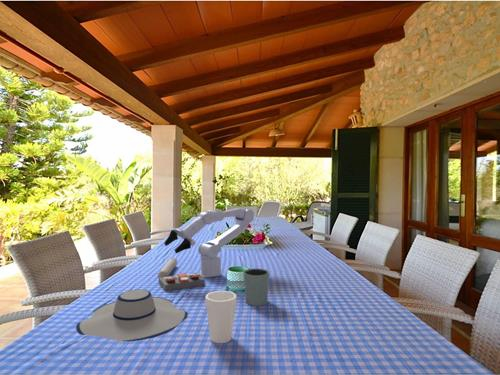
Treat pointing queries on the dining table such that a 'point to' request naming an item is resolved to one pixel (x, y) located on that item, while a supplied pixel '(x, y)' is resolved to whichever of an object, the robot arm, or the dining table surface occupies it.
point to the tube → (167, 268)
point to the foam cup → (220, 315)
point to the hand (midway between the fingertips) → (170, 248)
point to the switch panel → (178, 284)
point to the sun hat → (133, 317)
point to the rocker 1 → (183, 277)
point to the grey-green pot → (256, 286)
